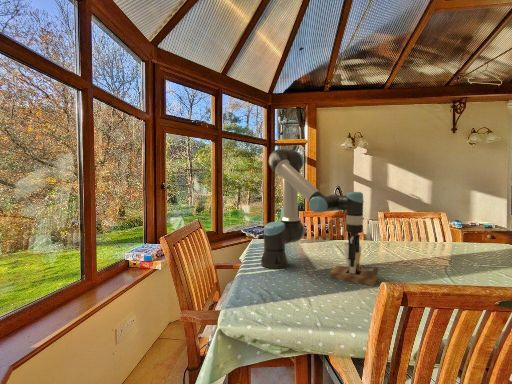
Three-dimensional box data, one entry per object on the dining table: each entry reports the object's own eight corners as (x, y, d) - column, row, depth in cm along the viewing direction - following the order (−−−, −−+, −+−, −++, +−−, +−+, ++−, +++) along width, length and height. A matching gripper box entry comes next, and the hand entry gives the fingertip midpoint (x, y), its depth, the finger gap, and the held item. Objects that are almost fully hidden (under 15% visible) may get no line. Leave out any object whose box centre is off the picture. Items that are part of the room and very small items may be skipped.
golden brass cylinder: (347, 273, 139) (347, 252, 139) (349, 270, 143) (350, 250, 143) (358, 275, 137) (358, 254, 136) (360, 272, 141) (360, 251, 140)
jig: (329, 277, 140) (329, 267, 140) (336, 270, 150) (336, 261, 150) (373, 286, 130) (373, 275, 130) (377, 277, 140) (377, 267, 140)
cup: (349, 269, 153) (350, 246, 153) (340, 264, 162) (340, 243, 161) (364, 267, 156) (364, 245, 155) (354, 262, 164) (354, 242, 164)
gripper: (358, 227, 129) (357, 278, 130) (366, 221, 144) (365, 267, 146) (341, 226, 133) (341, 275, 134) (351, 220, 148) (350, 265, 150)
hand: (353, 271), depth 140 cm, fingers closed on golden brass cylinder, 5 cm apart
